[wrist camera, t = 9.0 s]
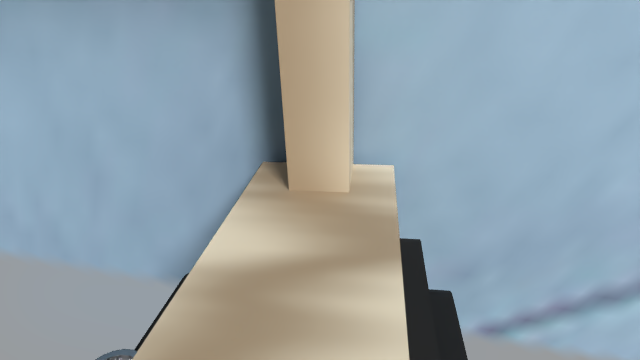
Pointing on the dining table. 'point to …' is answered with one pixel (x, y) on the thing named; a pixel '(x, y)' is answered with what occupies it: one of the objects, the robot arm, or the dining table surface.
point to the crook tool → (300, 228)
